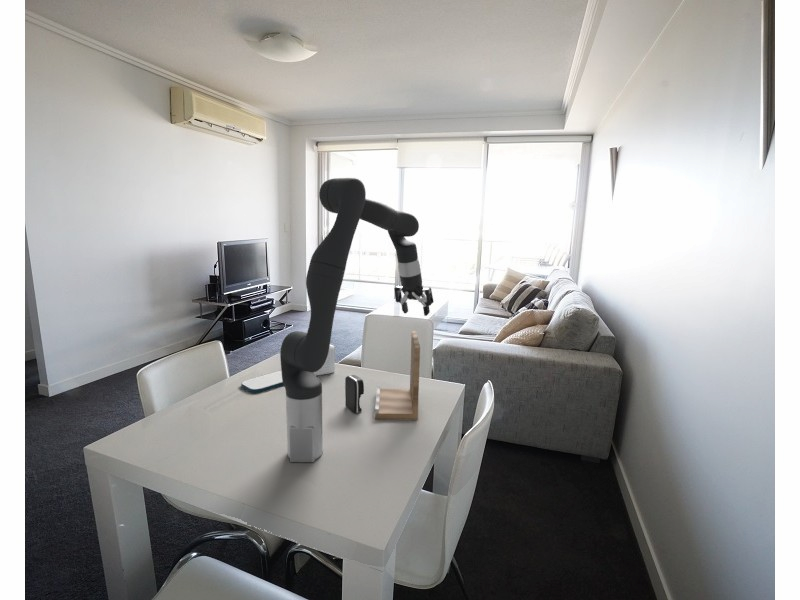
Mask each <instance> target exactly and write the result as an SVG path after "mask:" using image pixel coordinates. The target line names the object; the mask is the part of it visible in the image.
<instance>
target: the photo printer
mask: <svg viewBox="0 0 800 600" xmlns="http://www.w3.org/2000/svg"><path fill="white" fill-rule="evenodd" d="M335 358H336V350H335V345H333V344H331V343H330V347H329V352H328V356H327V359H326V361H325V363H324V365H323V366H322V368H321V369H319V370H318V371H316V372H313V373H314V374H315V375H316V376H317V377H318V376H321V375H322V376H323V375H328V374H333V373H335V370H336V365H335V363H336V362H335V361H336V359H335Z"/></svg>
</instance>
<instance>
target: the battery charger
mask: <svg viewBox="0 0 800 600" xmlns="http://www.w3.org/2000/svg"><path fill="white" fill-rule="evenodd" d="M344 379H345V383H344V391H345V392H344V393H345V394H344V395H345V407H346V408H347V409H348V410H349V411H351V412H352V413H354V414H358V413H361V412H362V410H363V409H362V407H361V406H360V402H361V401H360V399H361V397H362V395H364V393H365V385H364V381H363V379H362V378H361V377H359V376H357V375H355V374H353V375H347V376H346V377H345V378H344Z"/></svg>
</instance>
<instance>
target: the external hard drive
mask: <svg viewBox="0 0 800 600" xmlns="http://www.w3.org/2000/svg"><path fill="white" fill-rule="evenodd" d="M240 387H241V388H242V389H243V390H245V391H246V390H247V392H248V393H250V394H260V393H264V392H268V391H270V390H274V389H278V388H280V387H284V385H283V381H282V371H281V370H278V371H274V372H271V373H267V374H264V375H260V376H256V377H252V378H250V379H245V380H244V381H241V386H240Z"/></svg>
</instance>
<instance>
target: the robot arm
mask: <svg viewBox="0 0 800 600" xmlns="http://www.w3.org/2000/svg"><path fill="white" fill-rule="evenodd" d="M365 187H366V186H365V185H364V183H363V181H362V180H361V179H359V178H356V177H339V178H338V177H336V178H335V177H334V178H330V179H327V180H325V181H324V182H323V183H322V185H321V186H320V188H319V192H318V193H319V195H318V196H319V201H320V204H321V205H322V207H323V208H324V209H325V210H326V211H328V212H329V213H332V214H337V215H336V218H335V221H334V224H333V226H332V228H331V230H329V233H328V234H327V235H326V236H325V237H324V239H323V240H322V241H321V242H320V243H319V245H318V246H317V247H316V248H315V250H314V252H313V254H312V255H311V258H310V261H309V265H308V269H307V273H306V276H305V286H306V293H307V297H308V302H309V307H310V319H309V325H308V328H307V332H304V331H301V330H300V331H299V330H297V331H296V330H295V331H291V332H289V333H288V334H287V335H286V336H285V337H284V339H283V340H282V342H281V346H280V352H279V353H280V369H281V370H280V371H282V381H283V385H284V386H283V387H284V389H285V404H286V405H285V407H286V409H285V410H286V411H285V412H286V413H285V414H286V439H287V440H286V442H287V444H286V445H287V446H286V447H287V457H288V458H289V462H290V463H314V462H315V460H317V459H318V458H320V457H321V456H322V454H323V452H324V451H323V450H324V449H323V447H324V446H323V438H324V437H323V383H322V381H321V379H320V378H319V377H318V375H317V376H316V375H315V374H314V373H313V372H316V371H318V370H319V369H321V368H322V366H323V365H324V363H325V361H326V359H327V356H328V352H329V347H330V344H331V339H332V332H333V325H334V318H335V313H336V309H337V304H338V300H339V295H340V291H341V287H342V284H343V281H344V277H345V272H346V267H347V263H348V259H349V258H348V257H349V254H350V251H351V247H352V242H353V239H354V235H355V234H356V231H357V227H358V225H359V222H360V220H361V221H365V222H367V223H369V224H371V225H373V226H376V227H378V228H380V229H383V230H385V231H387V233H388V237H389V238H390V240H391V242H392V244H393V246H394V247H393V248H394V249H395V252H396V257H397V268H398V275H399V279H400V280H399V281H400V285H399V284H398V285H396V286H395V287H394V297H395V302H396V303H400V306H401V311H402V312H403V313H404V314H407V313H408V312H409V307H408V302H407V301H408V300H415V301H417V302H418V303H421V305H422V306H423V307H422V309H423V315H424V316H425V317H426V316H428V315H430V312H431V311H430V310H431V309H430V306H431V305H432V304H433V303H434V297H433V292H432V288H431V286H430V287H429V286H428V287H427V288H425V287H424V286H423V279H422V272H421V271H422V268H421V265H420V261H419V257H418V250H417V249H418V248H417V244H416V243H415V242H413V241H410V240H408V239H407V238H406V237H408V238H409V237H414V236H415V235H416V234H417V233H418V231H419V228H420V224H419V221H418V219H417V217H415V215H413V214H412V213H408V212H405V211H402V210H401V211H400V210H396V209H395V208H393V207H391V206H389V205H387V204H385V203H382V202H380V201H376V200H372V199H368V198H366V194H367V193H366V188H365ZM402 293H403V294H404V295H403V294H402ZM402 295H403V296H402Z"/></svg>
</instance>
